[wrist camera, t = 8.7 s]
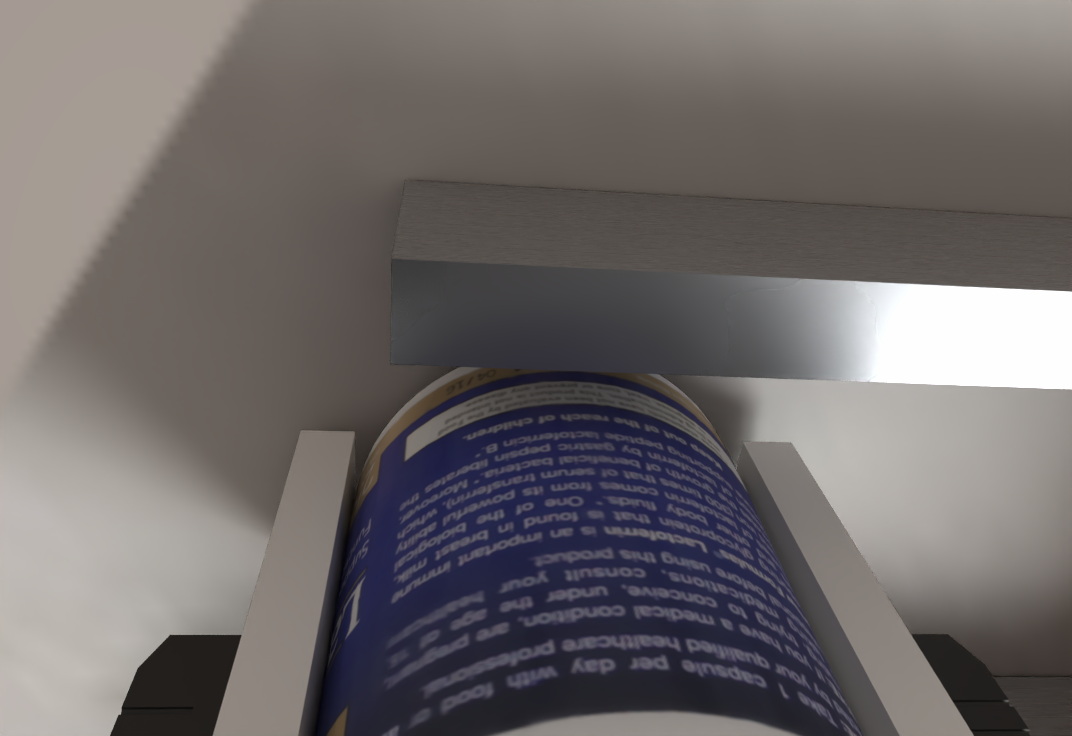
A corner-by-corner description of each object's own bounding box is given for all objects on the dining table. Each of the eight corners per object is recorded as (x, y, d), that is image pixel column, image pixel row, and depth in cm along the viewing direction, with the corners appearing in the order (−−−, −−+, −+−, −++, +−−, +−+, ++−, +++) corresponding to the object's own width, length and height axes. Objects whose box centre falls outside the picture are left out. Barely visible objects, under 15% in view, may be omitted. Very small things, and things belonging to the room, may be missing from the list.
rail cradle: (394, 726, 16) (373, 1032, 12) (405, 180, 12) (378, 342, 8) (1217, 723, 18) (1464, 988, 14) (1486, 242, 14) (1977, 403, 9)
